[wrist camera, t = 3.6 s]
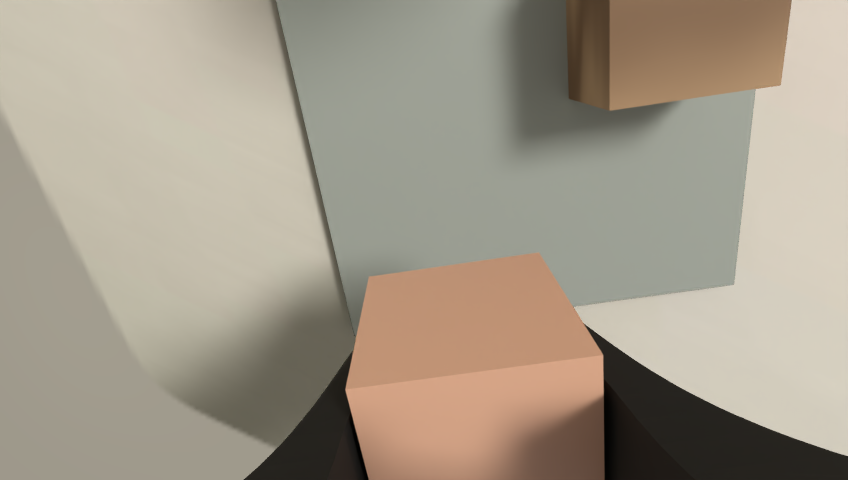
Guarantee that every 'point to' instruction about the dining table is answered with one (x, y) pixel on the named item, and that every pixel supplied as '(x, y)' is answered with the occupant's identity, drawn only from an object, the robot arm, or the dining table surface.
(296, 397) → the dining table surface
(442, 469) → the terracotta cube
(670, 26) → the walnut block
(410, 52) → the slate board
